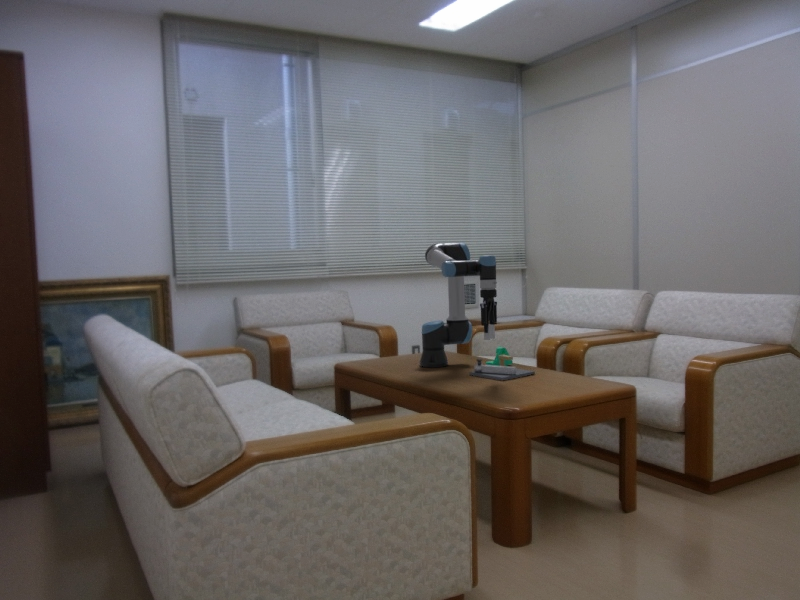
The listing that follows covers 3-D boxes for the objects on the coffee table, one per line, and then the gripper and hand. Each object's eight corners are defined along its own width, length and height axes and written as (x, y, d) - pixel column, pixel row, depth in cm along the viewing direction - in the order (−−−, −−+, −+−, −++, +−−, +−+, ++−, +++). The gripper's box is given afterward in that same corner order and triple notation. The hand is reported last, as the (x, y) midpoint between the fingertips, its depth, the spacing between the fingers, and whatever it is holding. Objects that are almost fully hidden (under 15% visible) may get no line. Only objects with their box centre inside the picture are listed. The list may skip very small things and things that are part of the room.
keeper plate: (469, 375, 319) (468, 359, 318) (501, 369, 332) (501, 354, 332) (502, 380, 301) (502, 364, 301) (535, 374, 315) (534, 358, 314)
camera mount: (502, 364, 348) (502, 344, 347) (512, 366, 342) (512, 346, 341) (485, 366, 342) (484, 347, 341) (494, 368, 335) (494, 348, 335)
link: (472, 371, 317) (472, 359, 317) (477, 370, 321) (476, 358, 321) (512, 374, 306) (512, 362, 306) (516, 372, 310) (516, 360, 310)
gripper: (487, 290, 295) (488, 341, 297) (503, 287, 310) (504, 337, 311) (472, 290, 299) (473, 341, 301) (489, 287, 314) (490, 336, 316)
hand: (489, 339), depth 306 cm, fingers open, 4 cm apart
